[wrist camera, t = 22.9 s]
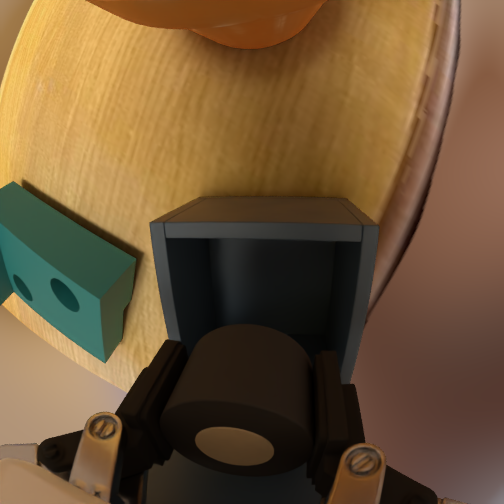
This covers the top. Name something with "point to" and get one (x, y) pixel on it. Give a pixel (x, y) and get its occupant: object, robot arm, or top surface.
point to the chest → (268, 270)
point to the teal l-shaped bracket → (63, 271)
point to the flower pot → (221, 18)
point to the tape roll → (243, 403)
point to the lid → (225, 485)
